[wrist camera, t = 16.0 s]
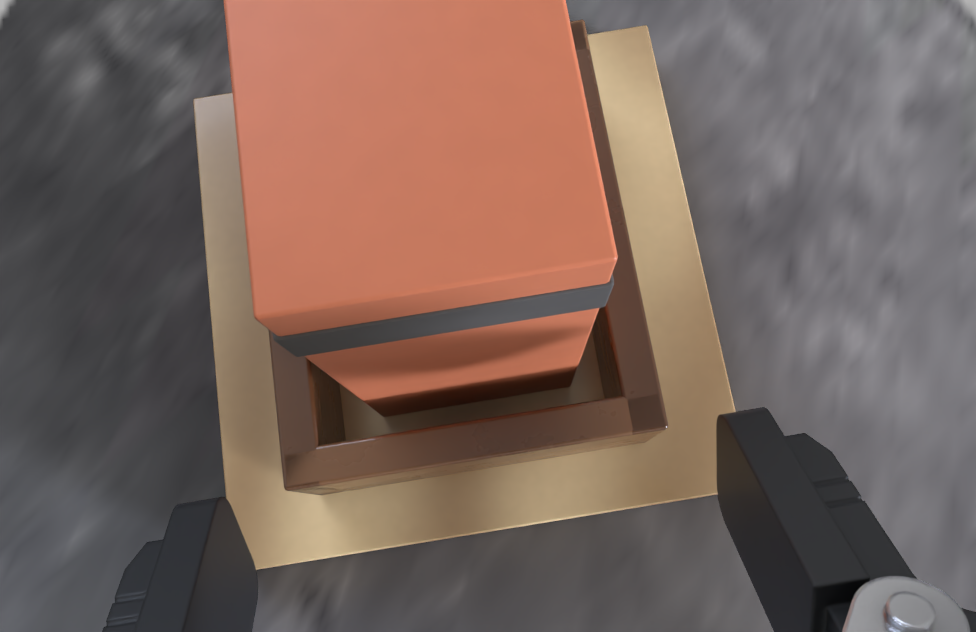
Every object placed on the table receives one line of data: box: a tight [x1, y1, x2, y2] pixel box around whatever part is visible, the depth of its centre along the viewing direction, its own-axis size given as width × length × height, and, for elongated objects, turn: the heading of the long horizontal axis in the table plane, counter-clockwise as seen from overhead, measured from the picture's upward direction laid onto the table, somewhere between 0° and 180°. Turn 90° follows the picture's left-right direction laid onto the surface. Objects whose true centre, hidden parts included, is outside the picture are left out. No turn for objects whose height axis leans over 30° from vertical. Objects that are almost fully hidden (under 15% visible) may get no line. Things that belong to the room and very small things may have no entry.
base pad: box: [193, 20, 736, 570], centre depth 20 cm, size 12×12×4 cm
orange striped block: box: [224, 0, 618, 417], centre depth 16 cm, size 5×6×10 cm
